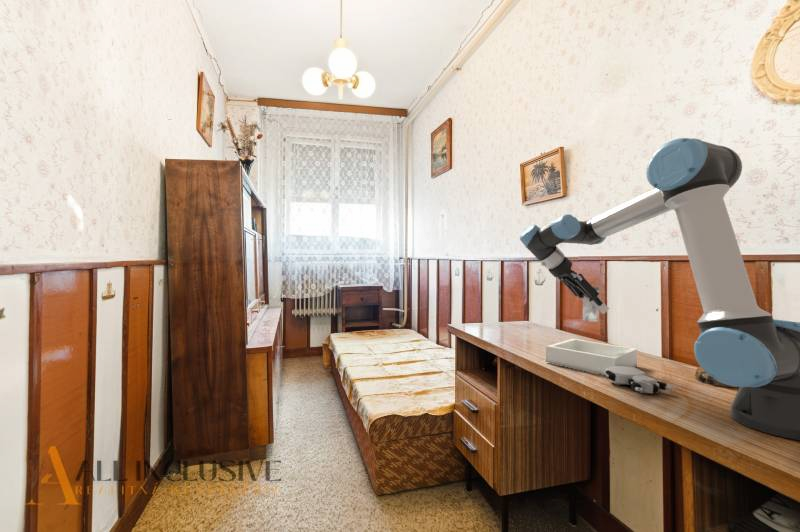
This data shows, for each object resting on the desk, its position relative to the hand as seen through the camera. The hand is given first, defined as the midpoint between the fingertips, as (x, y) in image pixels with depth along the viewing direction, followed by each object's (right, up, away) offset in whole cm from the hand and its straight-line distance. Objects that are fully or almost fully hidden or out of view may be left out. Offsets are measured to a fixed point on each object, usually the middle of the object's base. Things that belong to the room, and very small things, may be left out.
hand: (601, 310), depth 128 cm
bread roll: (+24, -20, -19) cm, 37 cm away
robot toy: (-4, -19, -25) cm, 32 cm away
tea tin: (-4, -4, 0) cm, 5 cm away
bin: (-4, -19, -1) cm, 19 cm away
